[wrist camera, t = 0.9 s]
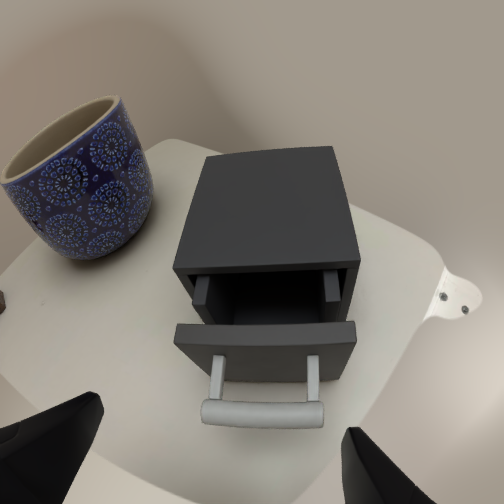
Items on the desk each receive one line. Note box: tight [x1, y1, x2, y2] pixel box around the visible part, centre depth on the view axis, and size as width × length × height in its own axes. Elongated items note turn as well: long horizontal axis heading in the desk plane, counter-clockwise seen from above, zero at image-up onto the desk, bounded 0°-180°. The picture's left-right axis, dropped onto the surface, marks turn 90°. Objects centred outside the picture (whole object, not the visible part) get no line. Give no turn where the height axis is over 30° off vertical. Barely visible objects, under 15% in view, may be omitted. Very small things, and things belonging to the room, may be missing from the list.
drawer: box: [174, 269, 357, 429], centre depth 18 cm, size 14×9×8 cm, turn 176°
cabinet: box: [173, 146, 361, 322], centre depth 22 cm, size 11×10×9 cm
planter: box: [0, 95, 153, 260], centre depth 29 cm, size 17×17×15 cm
